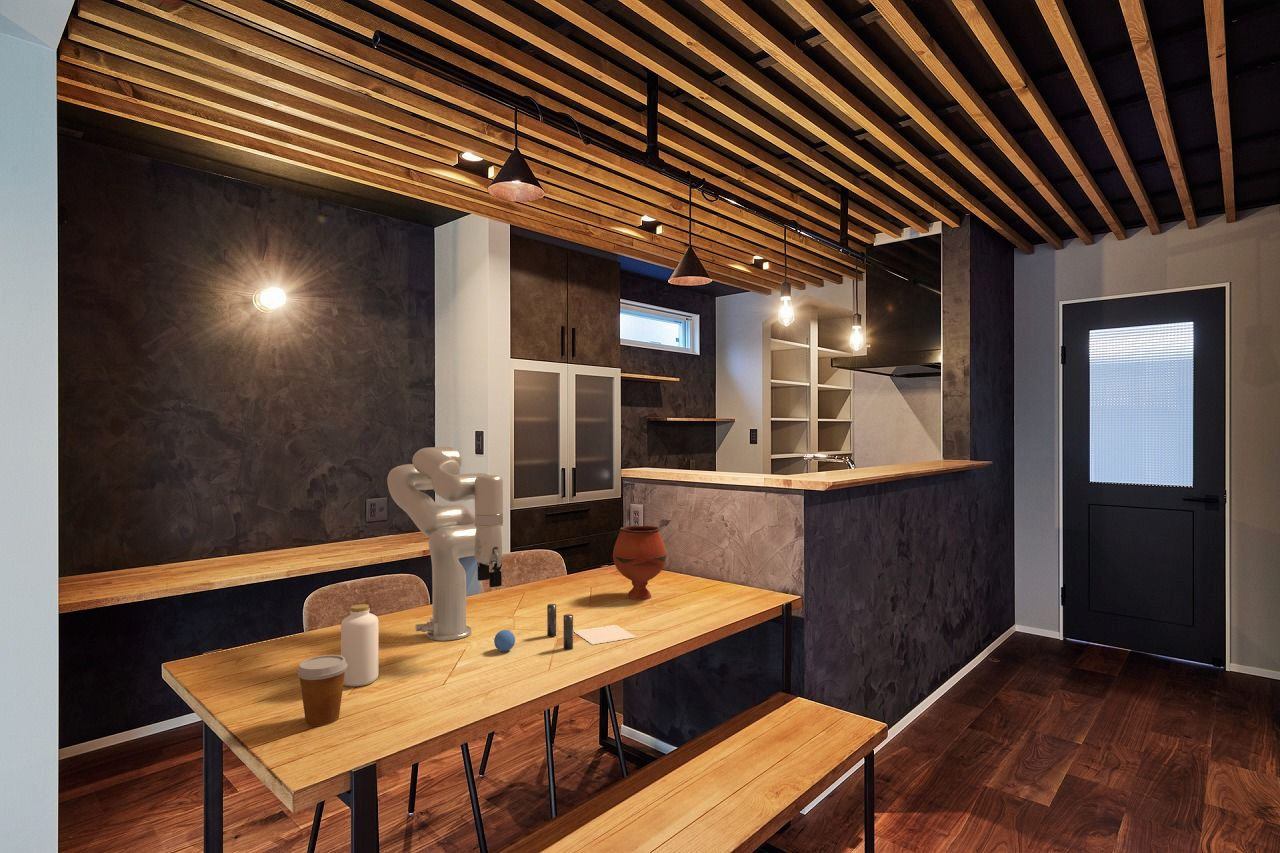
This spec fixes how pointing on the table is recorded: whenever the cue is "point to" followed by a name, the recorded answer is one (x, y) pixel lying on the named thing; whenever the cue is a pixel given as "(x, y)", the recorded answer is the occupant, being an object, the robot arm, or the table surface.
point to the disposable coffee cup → (322, 688)
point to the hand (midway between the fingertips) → (489, 583)
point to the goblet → (639, 557)
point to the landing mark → (604, 634)
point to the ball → (504, 640)
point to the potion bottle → (360, 646)
